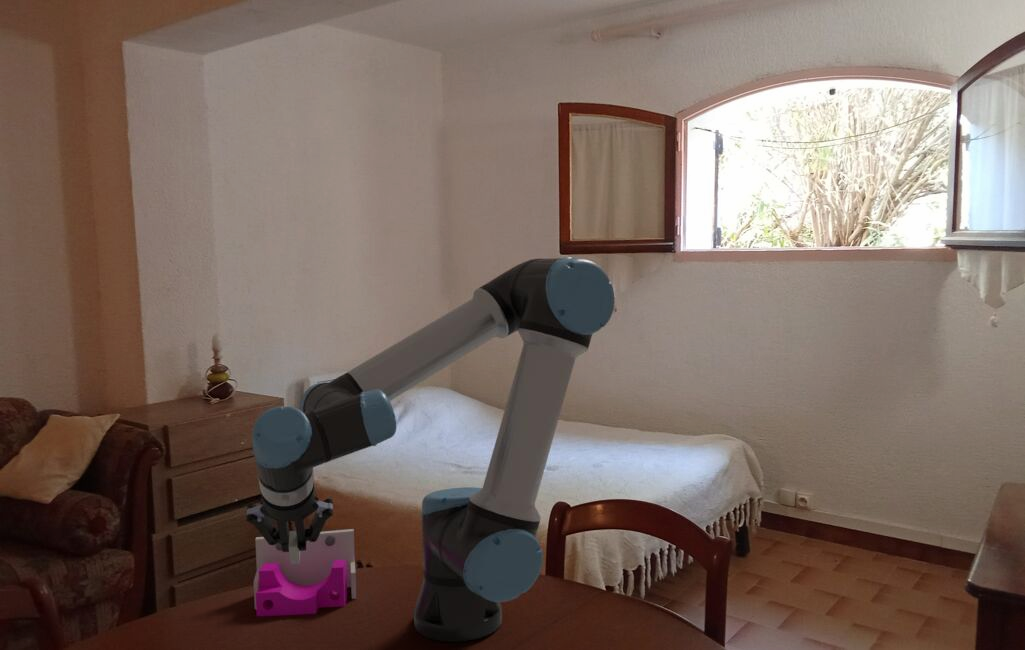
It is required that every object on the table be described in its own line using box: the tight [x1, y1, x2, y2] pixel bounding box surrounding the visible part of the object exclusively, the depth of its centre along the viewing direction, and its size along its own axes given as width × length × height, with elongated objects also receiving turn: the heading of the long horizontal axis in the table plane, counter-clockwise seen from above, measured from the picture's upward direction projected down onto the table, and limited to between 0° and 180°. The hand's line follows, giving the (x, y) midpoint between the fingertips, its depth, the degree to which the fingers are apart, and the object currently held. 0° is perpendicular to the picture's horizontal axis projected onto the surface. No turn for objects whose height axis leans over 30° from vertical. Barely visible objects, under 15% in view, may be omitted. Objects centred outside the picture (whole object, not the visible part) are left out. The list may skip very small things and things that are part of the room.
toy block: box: [256, 560, 348, 617], centre depth 142 cm, size 15×6×8 cm, turn 94°
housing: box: [253, 528, 357, 610], centre depth 146 cm, size 7×18×11 cm, turn 103°
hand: (295, 556), depth 131 cm, fingers closed
